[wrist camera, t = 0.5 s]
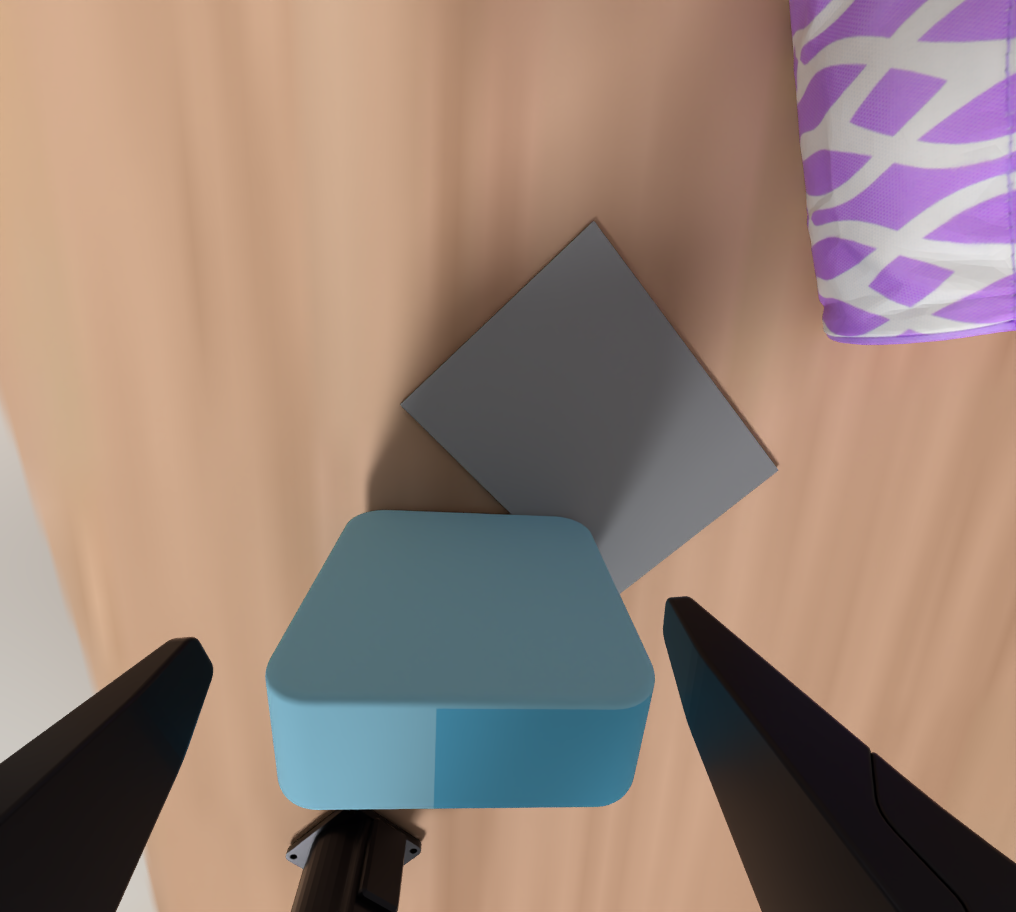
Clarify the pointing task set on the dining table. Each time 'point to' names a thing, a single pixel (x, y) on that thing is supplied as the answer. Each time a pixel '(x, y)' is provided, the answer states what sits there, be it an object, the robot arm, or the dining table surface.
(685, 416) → the felt mat
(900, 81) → the pencil case
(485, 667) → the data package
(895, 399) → the dining table surface
